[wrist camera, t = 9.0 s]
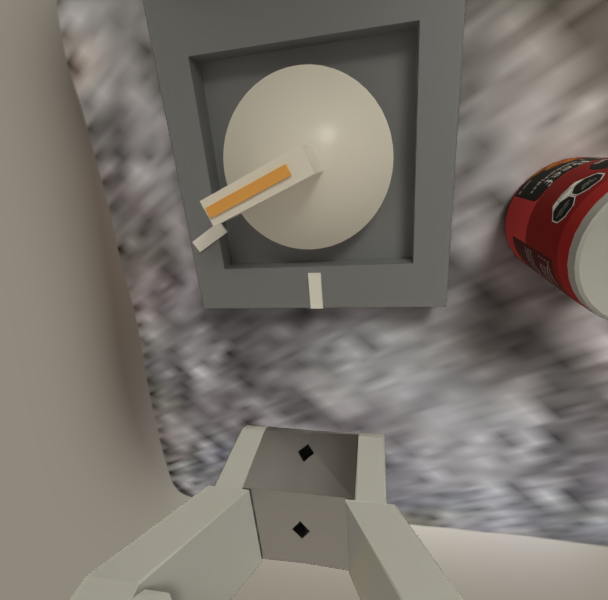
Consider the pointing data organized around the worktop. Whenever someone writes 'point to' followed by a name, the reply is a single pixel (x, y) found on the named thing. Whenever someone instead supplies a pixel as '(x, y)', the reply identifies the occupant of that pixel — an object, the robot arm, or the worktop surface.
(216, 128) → the panel
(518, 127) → the worktop surface
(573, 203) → the canned food
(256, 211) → the dial
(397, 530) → the robot arm
